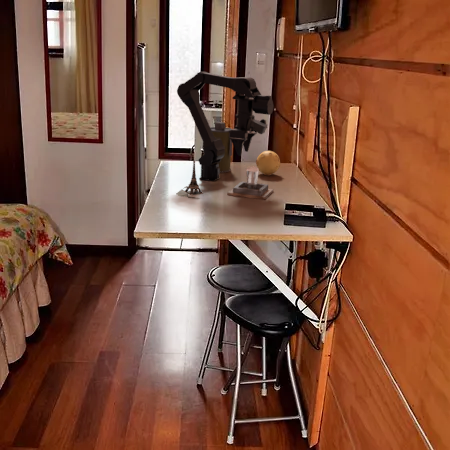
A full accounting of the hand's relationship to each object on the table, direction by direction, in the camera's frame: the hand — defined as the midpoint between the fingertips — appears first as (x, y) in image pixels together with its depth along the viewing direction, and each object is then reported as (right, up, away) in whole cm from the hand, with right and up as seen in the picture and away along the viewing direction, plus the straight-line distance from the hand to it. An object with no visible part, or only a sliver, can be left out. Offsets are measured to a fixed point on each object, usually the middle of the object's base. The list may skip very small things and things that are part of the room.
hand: (242, 153), depth 215 cm
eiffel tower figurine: (-19, -16, -10) cm, 27 cm away
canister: (-9, -4, +26) cm, 28 cm away
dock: (+3, -16, -8) cm, 18 cm away
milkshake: (+2, -15, -9) cm, 17 cm away
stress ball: (+11, -6, +20) cm, 24 cm away
